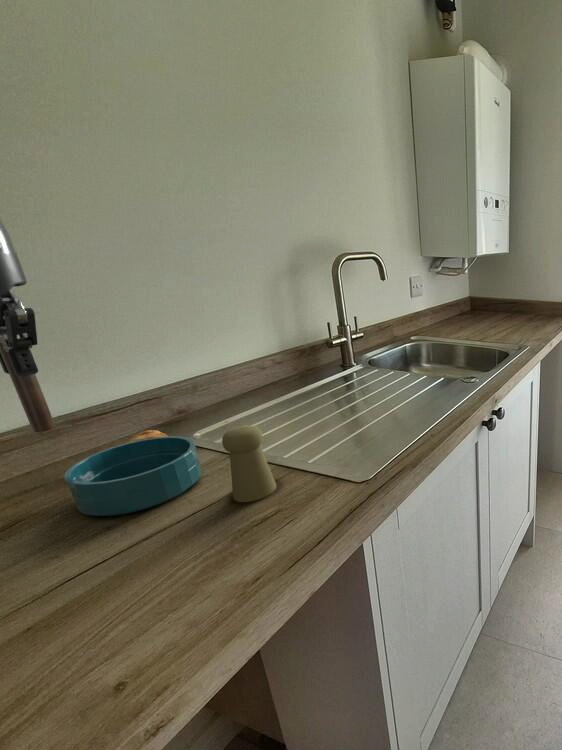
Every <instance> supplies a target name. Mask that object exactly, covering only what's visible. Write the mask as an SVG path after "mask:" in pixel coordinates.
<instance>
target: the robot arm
mask: <svg viewBox="0 0 562 750" xmlns="http://www.w3.org/2000/svg"><path fill="white" fill-rule="evenodd" d="M27 283H28V281H27V278H26V274H25V273H24V269H23V266H22V264H21V261H20V259H19V256H18V253H17V251H16V248H15V245H14V242H13V240H12V237H11V235H10V233H9V231H8V229H7V227H6V225H5V224H4V221H3V220H2V218H1V217H0V341H1V343H2V345H3V348H4V349H5V350H6V351H7V352H6V354H7V356H8V359H9V361H10V364H11V366H12V369H13V371H14V373H15V375H17V376H27V375H32V374H35V375H36V374H38V373H39V369H38V366H37V364H36V361H35V359H34V355H33V353H32V350H31V349H32V348H33V346H38V335H37V324H36V315H35V311H34V309H33V308H32V307H24V306H23V304H22V302H21V300H19V299H18V297H17V296H16V294H15V293H14V291H13V289H12V288H13V287H22V286H25V285H26V284H27ZM18 336H19V338H18ZM0 365H1V368H2V371H3V372H4V374H7V375H9V372H8V370H7V367H6V365H5V362H4V360H3V358H2V355H1V353H0Z"/></svg>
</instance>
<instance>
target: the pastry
mask: <svg viewBox="0 0 562 750" xmlns="http://www.w3.org/2000/svg"><path fill="white" fill-rule="evenodd" d="M168 436H169V435H168V434H166V433H164V432H161V431H159V430H157V429H154V430H152V429H149V430H143V431H141V432H139V433H138V434H134V435H133V436H132V437H131V438H130V439H129V440H128V443H130V442H134V441H139V440H144V439H150V438H156V437H168Z"/></svg>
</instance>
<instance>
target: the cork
mask: <svg viewBox="0 0 562 750" xmlns="http://www.w3.org/2000/svg"><path fill="white" fill-rule="evenodd" d="M263 440H264V439H263V433H262V431H261V429H260V428H258V426H255V425H251V424H246V425H239V426H236V427H233V428H230V429H228V430H227V431H226V432H225V433H224V434H223V435H222V439H221V443H222V447H223V448H224V450H225V451H226V452H228V454H229V463H230V474H231V486H232V498H233V500H234V501H235V502H238V503H250V502H255V501H259V500H261V499H263V498H267V497H268V496H270V495H271V494H273V493H274V491H276V489H277V483H276V480H275V478H274V476H273V475H274V474H273V473H272V470H271V469H270V465H269V463H268V461H267V458H266V455H265V453H264V451H263V448H262V446H261V445H262V443H263Z"/></svg>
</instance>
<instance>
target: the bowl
mask: <svg viewBox="0 0 562 750" xmlns="http://www.w3.org/2000/svg"><path fill="white" fill-rule="evenodd" d="M202 474H203V470H202V465H201V462H200V458H199V455H198V451H197V448H196V443H195V441H194V440H192V439H191V438H189V437H186V436H174V435H172V436H170V435H168V437H156V438H150V439H144V440H139V441H134V442H130V443H129V442H127V443H122V444H119V445H115V446H112V447H110V448H107V449H104V450H101V451H99V452H96V453H94V454H92V455H89V456H87V457H84V458H82V459H81V460H80V461H78V462H76V463H75V464H73V465H71V467H70V468H68V469H67V470H66V471H65V474H64V476H63V478H64V480H65V483H66V485H67V488H68V490H69V493H70V496H71V498H72V501H73V503H74V505H75V508H76V509H77V510H78V513H81V514H84V515H85V516H87V515H88V516H97V517H102V516H103V517H104V516H105V517H107V516H108V517H110V516H121V515H127V514H131V513H136V512H139V511H140V512H141V511H145V510H146V509H151V508H153V507H156V506H159V505H161V504H163V503H165V502H168V501H170V500H172V499H174V498H176V497H178V496H180V495H181V494H182V493H184V492H185V491H187V490H188V489H189V488H191V487H192V486H193V485H194V484H195V483H197V481H198V480H199V479H200V478H201V476H202Z"/></svg>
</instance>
